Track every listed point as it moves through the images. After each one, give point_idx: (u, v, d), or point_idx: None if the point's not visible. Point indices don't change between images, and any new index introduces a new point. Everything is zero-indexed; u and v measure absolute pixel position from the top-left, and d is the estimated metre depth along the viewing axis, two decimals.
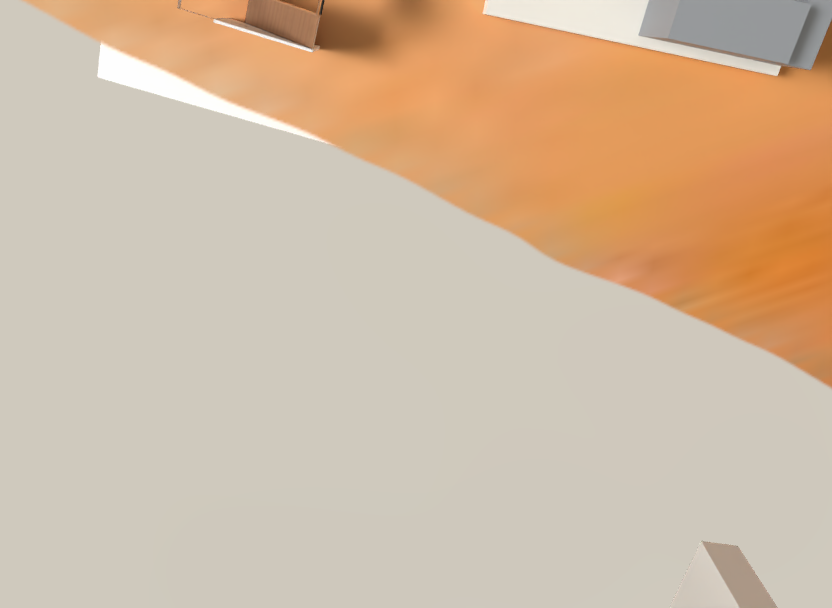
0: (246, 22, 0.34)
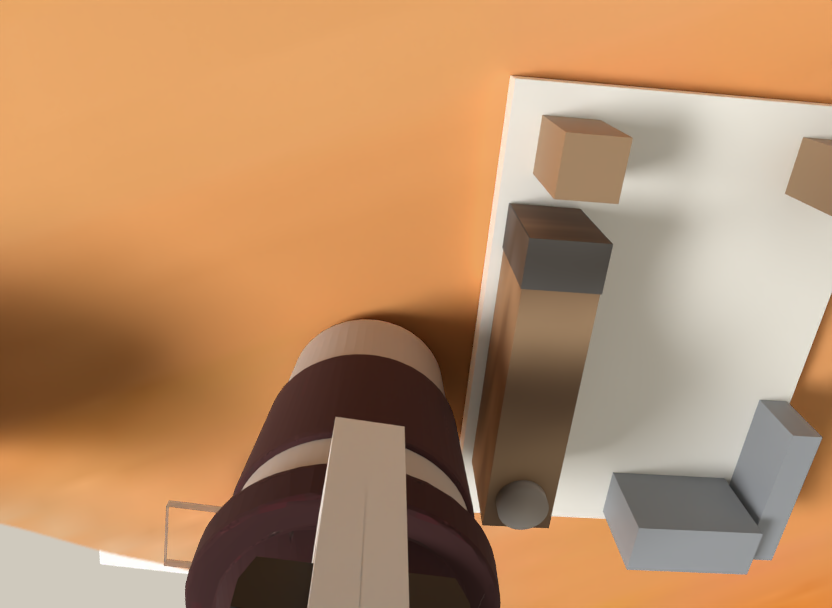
0: None
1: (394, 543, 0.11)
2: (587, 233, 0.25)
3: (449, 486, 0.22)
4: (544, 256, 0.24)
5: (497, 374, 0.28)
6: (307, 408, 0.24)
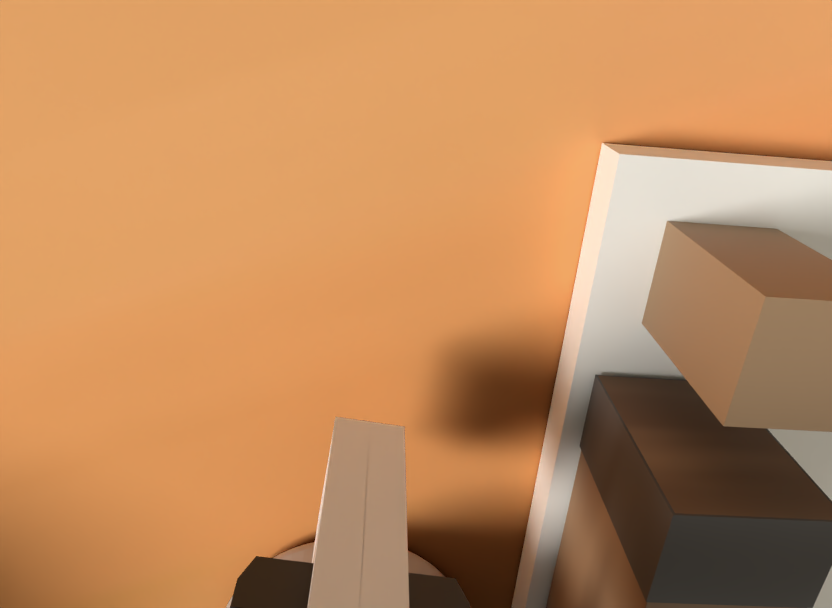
0: None
1: (394, 544, 0.11)
2: (779, 478, 0.12)
3: None
4: (701, 547, 0.11)
5: None
6: None
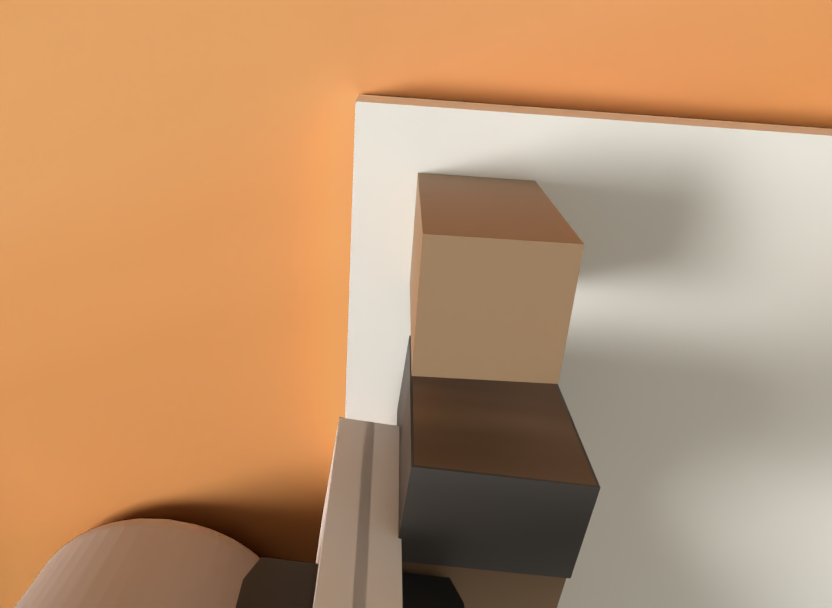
0: None
1: (388, 543, 0.11)
2: (547, 442, 0.12)
3: None
4: (445, 504, 0.11)
5: None
6: None
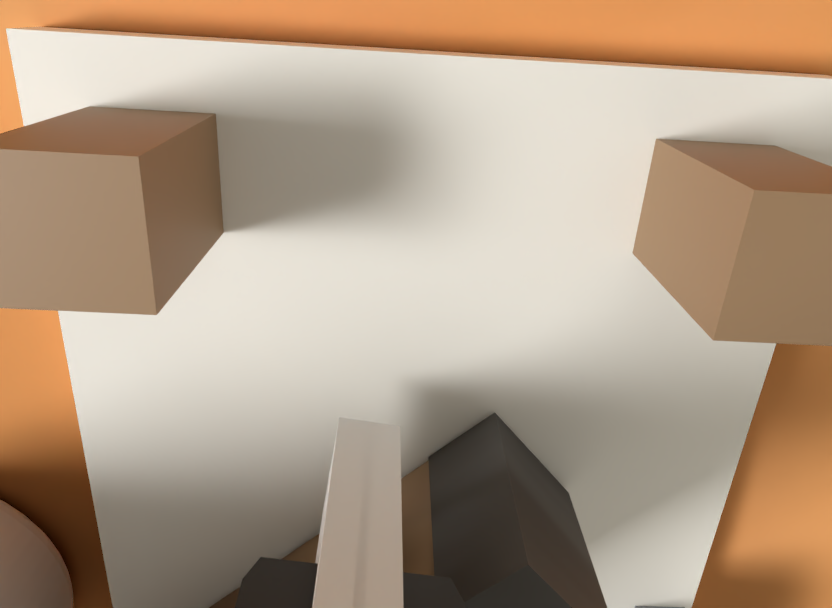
0: None
1: (389, 543, 0.11)
2: (590, 592, 0.13)
3: None
4: (519, 604, 0.12)
5: None
6: None
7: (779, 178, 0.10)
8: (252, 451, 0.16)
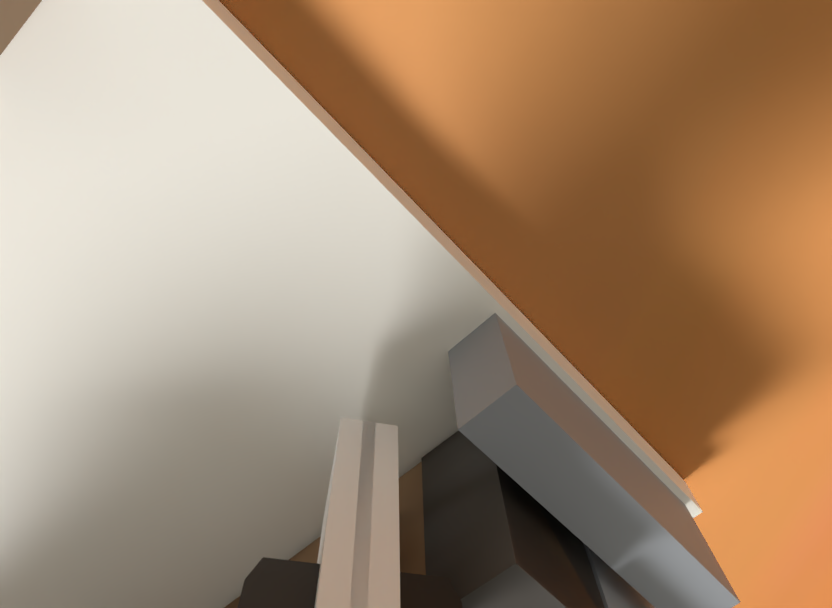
0: None
1: (386, 543, 0.11)
2: (584, 588, 0.13)
3: None
4: (509, 603, 0.11)
5: None
6: None
7: None
8: (6, 484, 0.16)
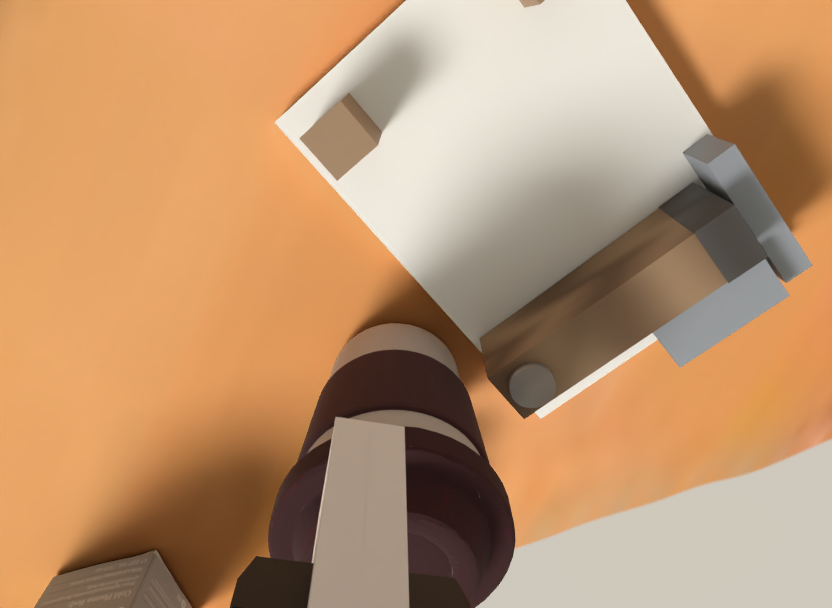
0: None
1: (394, 544, 0.11)
2: None
3: (430, 421, 0.27)
4: (728, 225, 0.29)
5: (594, 283, 0.32)
6: (317, 416, 0.30)
7: None
8: (458, 212, 0.33)
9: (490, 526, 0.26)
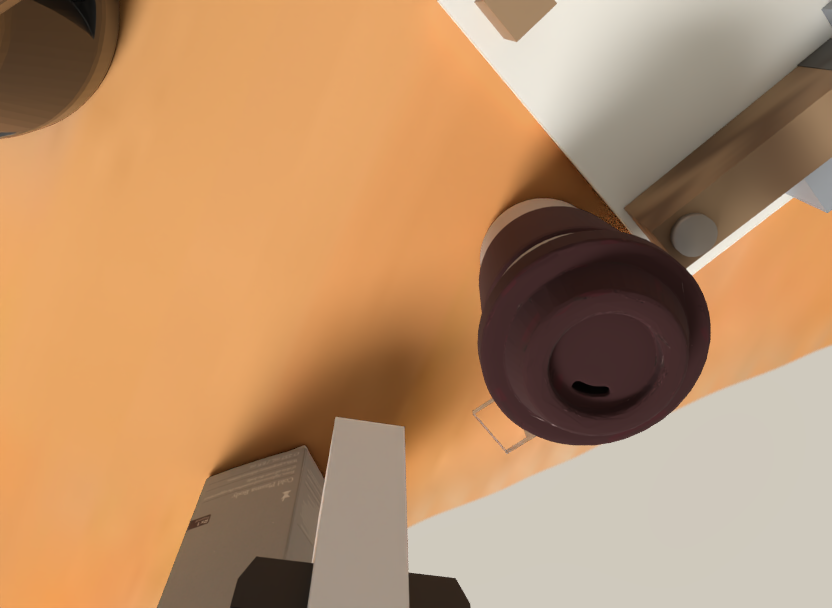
0: None
1: (394, 543, 0.11)
2: None
3: None
4: None
5: (746, 136, 0.34)
6: (500, 254, 0.32)
7: None
8: (608, 81, 0.35)
9: (690, 324, 0.28)
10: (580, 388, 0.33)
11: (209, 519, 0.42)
